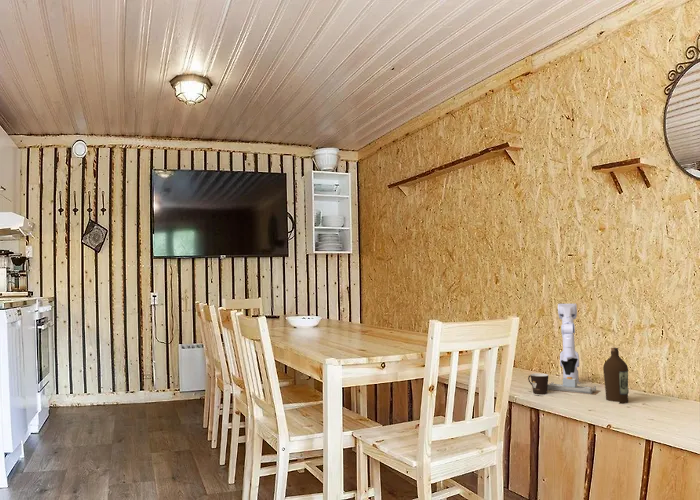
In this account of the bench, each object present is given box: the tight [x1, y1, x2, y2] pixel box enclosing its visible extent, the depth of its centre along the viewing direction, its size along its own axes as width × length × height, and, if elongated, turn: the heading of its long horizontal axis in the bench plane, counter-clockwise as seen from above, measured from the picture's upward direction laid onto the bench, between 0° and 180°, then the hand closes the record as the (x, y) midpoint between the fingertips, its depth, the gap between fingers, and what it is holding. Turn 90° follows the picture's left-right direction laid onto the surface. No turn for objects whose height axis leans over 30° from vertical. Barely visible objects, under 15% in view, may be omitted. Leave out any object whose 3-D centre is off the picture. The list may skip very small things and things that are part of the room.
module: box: [562, 377, 578, 387], centre depth 287 cm, size 4×6×6 cm, turn 53°
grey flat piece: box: [547, 381, 597, 395], centre depth 288 cm, size 9×22×2 cm, turn 53°
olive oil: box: [602, 347, 630, 404], centre depth 265 cm, size 11×11×25 cm
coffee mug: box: [527, 372, 549, 397], centre depth 284 cm, size 12×9×10 cm
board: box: [549, 390, 601, 396], centre depth 288 cm, size 11×26×1 cm, turn 53°
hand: (569, 373), depth 287 cm, fingers open, 6 cm apart
